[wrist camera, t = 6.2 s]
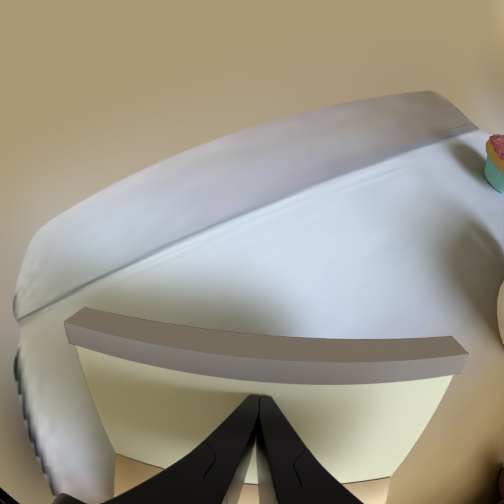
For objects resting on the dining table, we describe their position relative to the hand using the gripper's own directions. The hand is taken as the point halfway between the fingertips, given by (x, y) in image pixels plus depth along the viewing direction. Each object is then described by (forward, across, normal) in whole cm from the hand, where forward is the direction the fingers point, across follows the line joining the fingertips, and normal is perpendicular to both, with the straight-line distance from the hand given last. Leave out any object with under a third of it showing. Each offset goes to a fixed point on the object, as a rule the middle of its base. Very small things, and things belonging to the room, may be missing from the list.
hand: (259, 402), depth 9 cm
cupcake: (+24, +32, +12) cm, 41 cm away
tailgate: (0, 0, -7) cm, 7 cm away
